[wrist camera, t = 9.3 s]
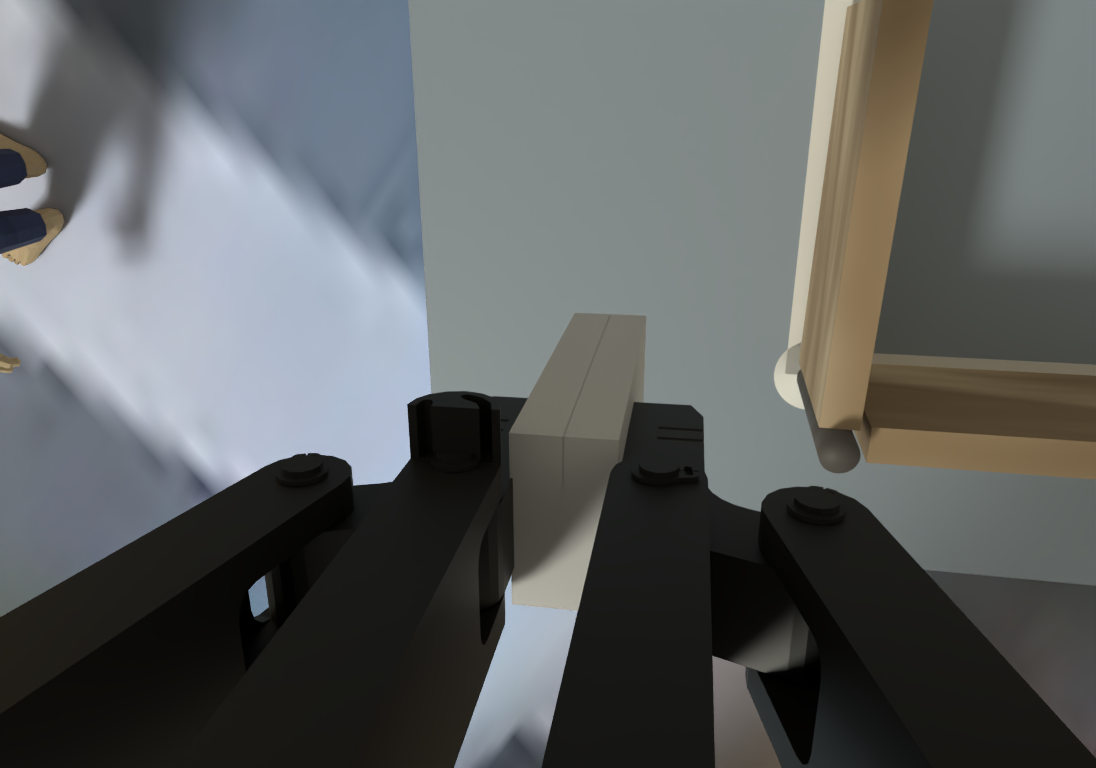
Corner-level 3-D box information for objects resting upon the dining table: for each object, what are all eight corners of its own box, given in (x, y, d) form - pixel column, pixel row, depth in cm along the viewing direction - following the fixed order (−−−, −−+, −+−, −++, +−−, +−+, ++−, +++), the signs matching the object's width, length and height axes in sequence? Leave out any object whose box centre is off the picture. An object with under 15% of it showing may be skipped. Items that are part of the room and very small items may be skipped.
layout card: (1220, 591, 32) (1227, 598, 31) (442, 520, 37) (439, 525, 36) (1444, -54, 24) (1456, -56, 23) (410, -30, 29) (406, -31, 28)
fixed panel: (1193, 413, 29) (1306, 494, 24) (838, 391, 31) (866, 462, 26) (1203, 381, 29) (1321, 457, 23) (842, 361, 31) (871, 427, 25)
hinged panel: (794, 391, 31) (816, 471, 25) (847, 6, 26) (889, -10, 20) (827, 394, 31) (857, 475, 25) (886, 6, 26) (941, -10, 20)
